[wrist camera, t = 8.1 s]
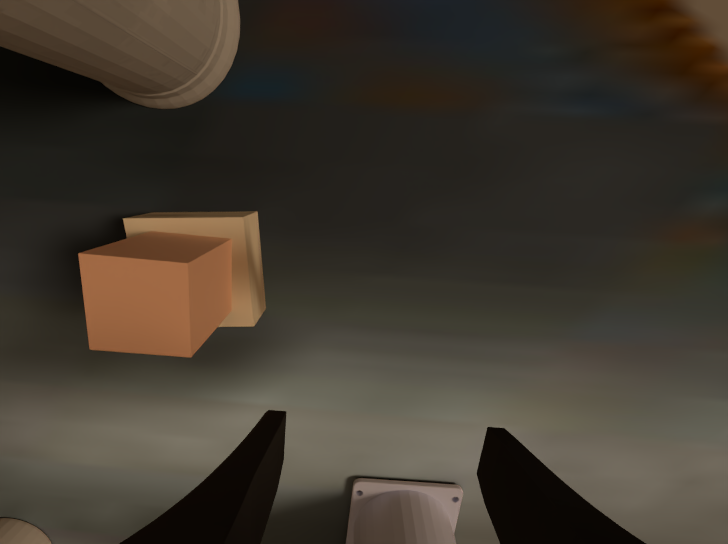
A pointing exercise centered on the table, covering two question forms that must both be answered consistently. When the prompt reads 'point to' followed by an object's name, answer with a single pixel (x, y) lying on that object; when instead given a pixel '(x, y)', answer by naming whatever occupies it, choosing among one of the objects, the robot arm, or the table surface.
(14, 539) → the coffee cup
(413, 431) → the table surface
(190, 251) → the painted block
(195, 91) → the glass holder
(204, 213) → the birch base
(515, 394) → the table surface
